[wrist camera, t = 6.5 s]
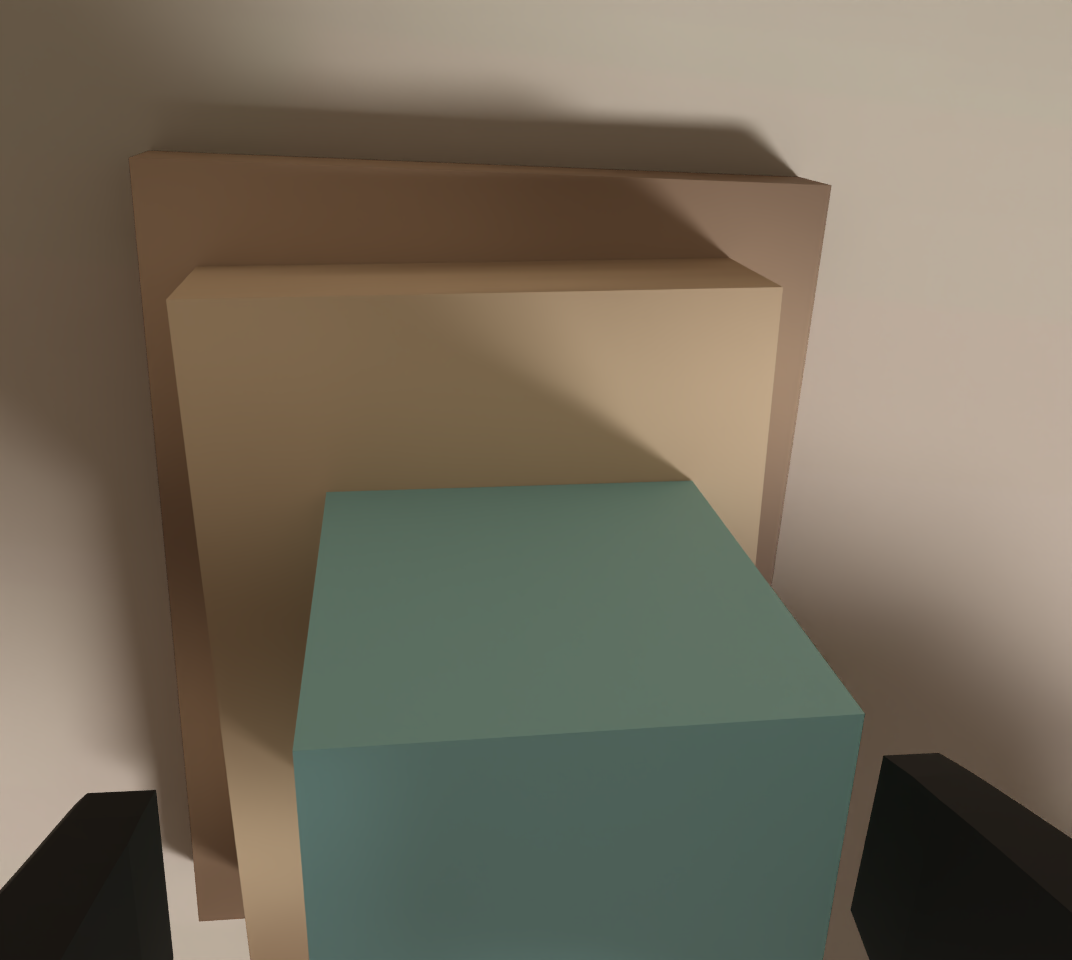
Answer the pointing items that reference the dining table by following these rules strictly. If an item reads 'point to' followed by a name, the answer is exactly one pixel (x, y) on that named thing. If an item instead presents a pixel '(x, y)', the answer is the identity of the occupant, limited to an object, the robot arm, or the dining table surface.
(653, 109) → the dining table surface
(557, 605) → the teal block
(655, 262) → the top slab
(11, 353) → the dining table surface
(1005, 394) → the dining table surface
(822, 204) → the bottom slab
